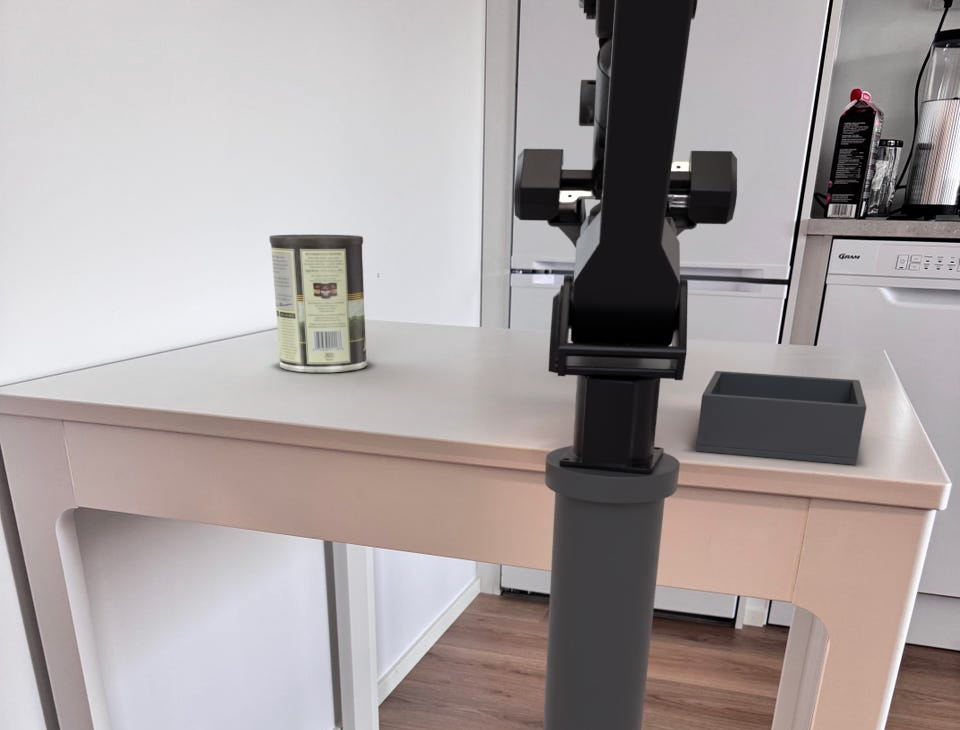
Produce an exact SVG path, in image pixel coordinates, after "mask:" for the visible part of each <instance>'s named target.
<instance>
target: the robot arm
mask: <svg viewBox="0 0 960 730" xmlns="http://www.w3.org/2000/svg"><path fill="white" fill-rule="evenodd" d="M578 6H579V7H578V8H579V9H583V14H585V19H586V20H589V21H590V20H595V25H594V28H595V29H594V35H595V36H596V37H597V38H598V49H599V50H598V52H597V55H596V69H595V70H596V71H595V72H596V73H595V79H581V80H580V89H579V109H578V125H579V127H593V135H592V158H591V159H592V161H591V169H565V168H564V169H563V166H564V161H565V160H564V157H565V156H564V153H565V152H564V151H565V150H564V149H563V148H524V149H523V150H522V151H521V152H520V153H519V154H518V155H517V162H516V172H515V179H514V180H515V181H514V187H513V188H514V190H513V208H514V210H513V211H514V216H515V217H516V218H517V219H518V220H520V221H546V222H547V225H549V227H553V228H558V229H559V230H560V231H561V232H562V233H563V234H564V235H565V236H566V237H567V239H569V240H570V242H571V243H572V245H573V246H574V248H575V255H574V256H575V257H574V269H573V270H574V272H573V274H564V276H563V283H562V284H561V285H560V290H558V291H557V293H556V294H555V295H553V297H552V306H551V320H550V335H549V348H548V349H549V351H548V355H549V356H548V372H549V373H554V374H557V377H566V376H576V391H575V404H574V405H575V406H574V423H573V424H574V425H573V440H572V445H571V446H572V447H571V448H570V449H569V450H568V451H567V452H566V453H565V454H564V455H563V456H562V457H561V458H560V459H559V466H562V467H571V468H581V469H592V470H602V471H613V472H623V473H634V474H645V475H648V474H652V473H653V471H654V470H655V468H656V466H657V464H658V463H659V461H660V459H661V458H662V456H663V452H664V450H665V449H664V447H659V446H655V443H656V431H657V430H656V429H657V422H658V421H657V420H658V410H659V409H658V408H659V398H660V387H661V379H666V380H668V379H670V380H674V381H683V380H684V373H685V367H686V360H687V350H688V298H689V297H688V296H689V295H688V294H689V293H688V291H689V290H688V289H689V284H688V283H689V282H688V281H689V280H688V278H687V277H681V254H680V253H681V249H680V248H681V247H680V246H681V244H680V241H679V238H678V236H679V235H681V234H682V233H683V232H684V231H686V230H690V231H691V230H694V229H696V227H697V225H727V224H728V223H730V222H731V221H732V220H733V219H734V215H735V210H736V206H737V197H738V157H737V156H736V155H735V154H734V153H733V151H732V150H691V151H690V152H689V159H688V160H676V161H673V160H674V152H675V146H676V137H677V131H678V124H679V123H678V122H679V115H680V109H681V108H680V107H681V100H682V92H683V84H684V78H685V70H686V62H687V55H688V54H687V53H688V47H689V40H690V34H691V33H690V32H691V26H692V25H691V24H692V20H695V18H696V14H697V13H696V12H697V9H698V0H578ZM586 200H595V201H600V200H602V204H601V211H600V212H599V214H598V215H597V216H589V215H587V209H586ZM569 338H570V342H569ZM664 453H665V452H664Z"/></svg>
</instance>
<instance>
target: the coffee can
mask: <svg viewBox="0 0 960 730" xmlns="http://www.w3.org/2000/svg"><path fill="white" fill-rule="evenodd" d="M269 243H270V246H271V248H270V250H271V259H272V273H273V285H274V286H273V287H274V299H275V311H276V324H277V325H276V326H277V337H278V351H279V367H280V368H281V369H283V370H287V371H291V372H300V373H309V374H310V373H311V374H313V373H314V374H320V373H321V374H322V373H324V374H325V373H328V374H329V373H343V372H351V371H357V370H361V369H364V368H366V367H367V366H368V362H367V348H366V347H367V343H366V342H367V341H366V339H367V338H366V319H365V318H366V317H365V292H364V289H365V287H364V264H363V263H364V261H363V244H364V237H363V235H353V234H352V235H351V234H275V235H274V234H273V235H269Z"/></svg>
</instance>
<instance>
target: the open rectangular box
mask: <svg viewBox="0 0 960 730" xmlns="http://www.w3.org/2000/svg"><path fill="white" fill-rule="evenodd" d="M699 411H700V412H699V420H698V428H697V436H696V446H695V452H701V453H715V454H725V455H734V456H735V455H737V456H746V457H747V456H749V457H758V458H759V457H760V458H771V459H782V460H783V459H784V460H793V461H804V462H805V461H806V462H814V463H815V462H816V463H827V464H838V465H839V464H841V465H849V466H850V465H852V466H856V465H857V461H858V459H857V458H858V455H859V449H860V444H861V439H862V435H863V428H864V423H865V419H866V412H867V403H866V399H865V396H864V392H863V389H862V385H861V380H860V379H848V378H833V377H831V378H830V377H818V376H801V375H785V374H770V373H756V372H755V373H754V372H742V371H741V372H739V371H723V370H715V372H714V373H713V375H712V376H711V378H710V381H709V382H708V384H707V386H706V387H705V390H704V391H703V393H702V394H701V402H700V410H699Z"/></svg>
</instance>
